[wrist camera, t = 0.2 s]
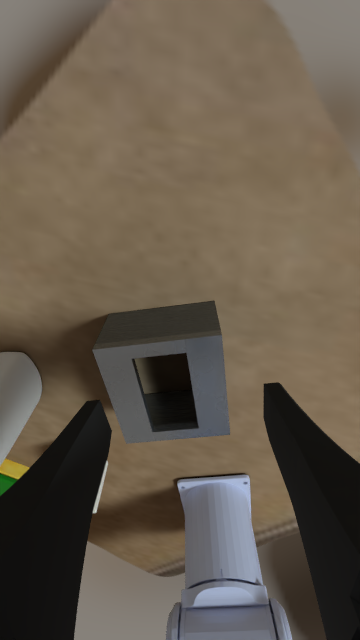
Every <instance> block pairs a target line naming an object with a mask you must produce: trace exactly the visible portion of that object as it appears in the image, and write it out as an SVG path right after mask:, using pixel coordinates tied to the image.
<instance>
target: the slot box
mask: <svg viewBox="0 0 360 640" xmlns="http://www.w3.org/2000/svg"><path fill="white" fill-rule="evenodd" d="M92 351H93V353H94V356H95V359H96V362H97V364H98V367H99V370H100V373H101V375H102V378H103V381H104V384H105V386H106V389H107V392H108V395H109V397H110V400H111V403H112V405H113V408H114V411H115V414H116V416H117V419H118V422H119V425H120V427H121V430H122V433H123V436H124V438H125V441H126V444H127V443H138V442H150V441H161V440H173V439H184V438H196V437H208V436H219V435H230V428H229V416H228V404H227V392H226V380H225V368H224V356H223V344H222V334H221V329H220V325H219V320H218V315H217V311H216V306H215V301H210V302H202V303H194V304H185V305H177V306H169V307H161V308H153V309H145V310H137V311H129V312H121V313H113V314H109V315H108V317H107V319H106V321H105V323H104V326H103V328H102V330H101V332H100V334H99V336H98V339H97V341H96V343H95V345H94V347H93V349H92ZM179 353H187V359H188V365H189V371H190V377H191V383H192V389H193V390H184V391H174V392H164V393H153V394H144V391H143V388H142V384H141V380H140V377H139V373H138V370H137V366H136V363H135V359H134V358H143V357H152V356H161V355H170V354H179Z"/></svg>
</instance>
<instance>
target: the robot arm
mask: <svg viewBox="0 0 360 640" xmlns="http://www.w3.org/2000/svg"><path fill="white" fill-rule="evenodd" d="M264 421H265V425H266V429H267V433H268V437H269V441H270V444H271V447H272V449H273V452H274V455H275V458H276V460H277V463H278V466H279V468H280V471H281V474H282V477H283V479H284V482H285V485H286V487H287V490H288V493H289V496H290V499H291V502H292V505H293V508H294V512H295V516H296V519H297V523H298V527H299V530H300V534H301V537H302V542H303V545H304V549H305V553H306V557H307V561H308V564H309V568H310V572H311V576H312V580H313V584H314V588H315V592H316V596H317V601H318V604H319V609H320V613H321V617H322V622H323V625H324V630H325V634H326V639H327V640H360V463H358V462H357V461H356V460H355V459H353V458H352V457H351V456H350V455H349V454H347V453H346V452H345V451H344V450H343V449H342V448H340V447H339V446H338V445H337V444H336V443H335V442H334V441H333V440H332V439H331V438H330V437H328V436H327V435H326V434H325V433H324V432H323V431H322V430H321V429H320V428H319V427H318V426H317V425H316V424H315V423H314V422H313V421H312V420H311V419H310V418H309V416H308V415H307V414H306V413H305V412H304V411H303V410H302V409H301V408H300V407H299V406H298V404H297V403H296V402H295V401H294V400H293V399H292V397H291V396H290V395H289V394H288V393H287V391H286V390H285V389H284V388H283V386H282V385H281V384H280V383H268V384H264ZM111 433H112V430H111V428H110V425H109V423H108V420H107V417H106V415H105V412H104V409H103V407H102V404H101V402H100V400H94V401H87V402H86V403H85V404H84V405H83V406H82V408H81V409H80V410H79V411H78V412H77V414H76V415H75V416H74V417H73V419H72V420H71V421H70V422H69V424H68V425H67V426H66V427H65V429H64V430H63V431H62V432H61V433H60V435H59V436H58V437H57V438H56V439H55V441H54V442H53V443H52V444H51V445H50V446H49V448H48V449H47V450H46V451H45V452H44V453H43V454H42V455H41V457H40V458H39V459H38V460H37V461H36V462H35V463H34V464H33V465H32V466H31V467H30V468H29V469H28V470H27V471H26V472H25V473H24V474H23V475H22V476H21V477H20V478H19V479H18V480H17V481H16V482H15V483H14V484H13V485H12V486H11V487H10V488H9V489H8V490H6V491H5V492H4V493H3V494H2V495H1V496H0V640H74V631H75V622H76V614H77V606H78V598H79V590H80V583H81V576H82V570H83V563H84V557H85V551H86V545H87V539H88V534H89V528H90V523H91V518H92V513H93V509H94V505H95V501H96V498H97V494H98V491H99V487H100V483H101V480H102V476H103V472H104V469H105V465H106V461H107V457H108V453H109V447H110V440H111ZM177 486H178V490H179V494H180V497H181V501H182V505H183V509H184V513H185V586H186V587H185V589H183V590H182V594H181V595H182V599H181V600H182V601H181V602H177V603H175V605H174V607H173V609H172V611H171V612H170V614H169V617H168V622H167V631H166V640H292V636H291V632H290V628H289V624H288V620H287V617H286V614H285V611H284V609H283V607H282V606H281V605H280V604H279V603H278V602H277V600H276V599H275V598H269V601H268V596H267V590H266V586H265V585H263V582H262V576H261V571H260V566H259V561H258V555H257V549H256V544H255V539H254V533H253V528H252V523H251V503H250V479H249V476H248V475H233V476H220V477H207V478H193V479H181V480H178V481H177Z"/></svg>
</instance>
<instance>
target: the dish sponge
mask: <svg viewBox="0 0 360 640" xmlns="http://www.w3.org/2000/svg"><path fill="white" fill-rule="evenodd" d="M28 469H29V467H26V466H23V465H21V464H18V463H15V462H13V461H10V460H7V459H4V461H3V463H2V464H1V466H0V496H1V495H2V494H3V493H4V492H5V491H6V490H8V489H9V488H10V487H11V486H12V485H13V484H14V483H15V482H16V481H17V480H18V479H19V478H20V477H21V476H22V475H23V474H24V473H25V472H26V471H27V470H28Z"/></svg>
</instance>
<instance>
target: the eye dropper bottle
mask: <svg viewBox="0 0 360 640" xmlns="http://www.w3.org/2000/svg"><path fill="white" fill-rule="evenodd" d="M41 393H42V381H41V377H40V374H39V372H38V370H37V368H36V366H35V365H34V363H33V362H32V360H31V359H30V358H29V357H28V356H27V355H26V354H24V353H22V352H1V353H0V466H1V464H2V463H3V461H4V459H5V458H6V456H7V455H8V453H9V451H10V449H11V448H12V446H13V444H14V443H15V441H16V439H17V438H18V436H19V434H20V432H21V431H22V429H23V427H24V426H25V424H26V422H27V421H28V419H29V417H30V415H31V414H32V412H33V410H34V408H35V407H36V405H37V403H38V402H39V400H40V397H41Z"/></svg>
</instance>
